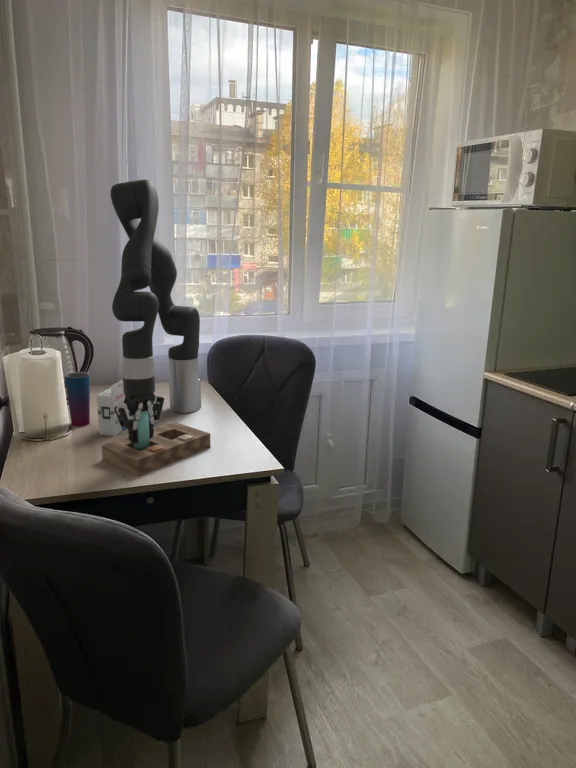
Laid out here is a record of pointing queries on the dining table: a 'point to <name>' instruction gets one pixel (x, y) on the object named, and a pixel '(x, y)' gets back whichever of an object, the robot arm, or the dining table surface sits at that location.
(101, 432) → the ink box
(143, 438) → the plug
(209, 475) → the dining table surface
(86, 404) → the cup
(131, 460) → the board
